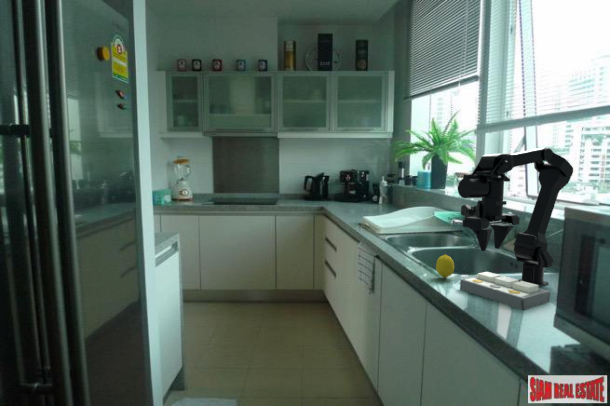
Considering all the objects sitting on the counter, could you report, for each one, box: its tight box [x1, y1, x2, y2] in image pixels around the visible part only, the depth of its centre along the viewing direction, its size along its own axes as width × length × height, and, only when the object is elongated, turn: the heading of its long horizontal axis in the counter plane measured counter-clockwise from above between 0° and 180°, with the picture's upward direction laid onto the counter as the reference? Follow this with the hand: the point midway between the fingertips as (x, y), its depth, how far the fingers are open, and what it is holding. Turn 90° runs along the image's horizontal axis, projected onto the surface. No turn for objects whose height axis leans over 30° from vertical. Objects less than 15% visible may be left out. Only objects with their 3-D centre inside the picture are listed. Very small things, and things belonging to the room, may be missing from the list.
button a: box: [476, 271, 501, 283], centre depth 112 cm, size 4×4×2 cm
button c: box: [513, 281, 540, 294], centre depth 102 cm, size 4×4×2 cm
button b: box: [494, 275, 519, 288], centre depth 107 cm, size 4×4×2 cm
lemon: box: [435, 253, 455, 279], centre depth 123 cm, size 6×6×8 cm
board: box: [459, 275, 551, 311], centre depth 107 cm, size 12×19×3 cm, turn 29°
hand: (490, 249), depth 111 cm, fingers open, 6 cm apart
